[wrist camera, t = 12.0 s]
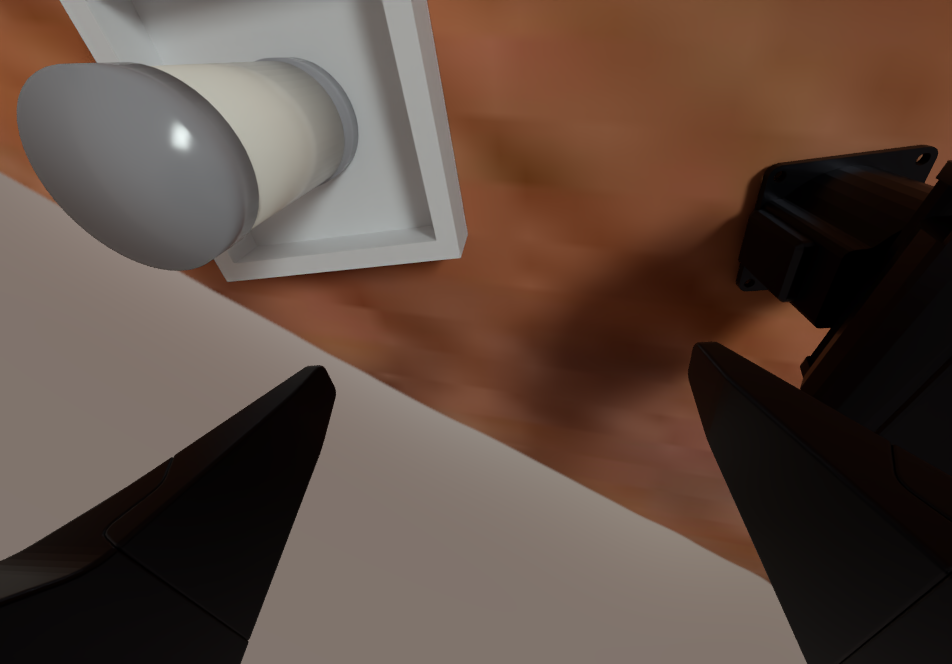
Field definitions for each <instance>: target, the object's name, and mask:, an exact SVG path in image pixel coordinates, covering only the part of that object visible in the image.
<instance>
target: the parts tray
mask: <svg viewBox="0 0 952 664" xmlns="http://www.w3.org/2000/svg"><path fill="white" fill-rule="evenodd" d="M60 2H61V3H62V5H63V7H64V8H65V10H66V12H67V13H68V15H69V17H70V18H71V20H72V22H73V23H74V25H75V27H76V28H77V30H78V32H79V33H80V35H81V37H82V39H83V40H84V42H85V44H86V45H87V47H88V49H89V50H90V52H91V54H92V55H93V57H94V59H95V60H96V62H97V63H110V62H132V63H139V64H144V65H147V66H159V65H183V64H208V63H232V62H254V61H257V60H259V59H264V58H281V57H295V58H301V59H304V60H308V61H310V62H312V63H314V64H316V65H318V66H320V67H321V68H323V69H324V70H325V71H327V72H328V73H329V74H330V75H331V76H332V77H333V78H334V79H335V80H336V81H337V82H338V83H339V84H340V86H341V87H342V88H343V90H344V91H345V93H346V94H347V96H348V98H349V100H350V102H351V104H352V106H353V109H354V111H355V115H356V118H357V123H358V133H359V137H358V146H357V150H356V153H355V156H354V158H353V160H352V162H351V163H350V165H349V166H348V167H347V168H346V169H345V170H344V171H343V172H341V173H340V174H339V175H337V176H336V177H334V178H333V179H331V180H330V181H328V182H327V183H325V184H323V185H320V186H317V187H315V188H313V189H312V190H310V191H309V192H307V193H306V194H304V195H303V196H301V197H300V198H298V199H297V200H295V201H294V202H292V203H291V204H289V205H288V206H286V207H284V208H283V209H281V210H280V211H278V212H277V213H275V214H274V215H272V216H271V217H269V218H268V219H266V220H265V221H263V222H262V223H260V224H259V225H257V226H256V227H254V228H253V229H251V230H250V232H249V233H248V234H247V235H246V236H245V238H243V239H242V240H241V241H239V242H238V243H236V244H235V245H233V246H232V247H231V248H229V249H228V250H226V251H225V252H223V253H222V254H220V255H219V256H217V257H216V258H214V260H215V262H216V264H217V265H218V267H219V269H220V270H221V272H222V274H223V275H224V277H225V279H226V280H227V282H233V281H242V280H252V279H261V278H271V277H281V276H290V275H300V274H310V273H319V272H329V271H339V270H348V269H358V268H368V267H377V266H387V265H396V264H406V263H416V262H425V261H435V260H445V259H454V258H461V255H462V252H463V249H464V245H465V242H466V238H467V235H468V233H467V227H466V221H465V215H464V210H463V204H462V198H461V193H460V187H459V181H458V176H457V170H456V164H455V158H454V153H453V147H452V141H451V136H450V130H449V124H448V118H447V113H446V107H445V101H444V96H443V90H442V84H441V79H440V73H439V67H438V61H437V56H436V50H435V44H434V39H433V33H432V27H431V21H430V16H429V10H428V4H427V0H60Z"/></svg>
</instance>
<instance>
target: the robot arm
mask: <svg viewBox="0 0 952 664" xmlns="http://www.w3.org/2000/svg"><path fill="white" fill-rule="evenodd" d="M922 154H923V156H922V158H921V159H920V160H919V161H917V162H916V159H917V158H918V157H919V156H920V155H922ZM937 156H938V150H937V149H936V148H935V147H932V146H928V145H916V146H908V147H900V148H892V149H884V150H877V151H869V152H861V153H853V154H845V155H838V156H830V157H822V158H814V159H806V160H799V161H791V162H783V163H777V164H774V165H772V166H771V167H769V168H768V169H767V170H766V172H765V174H764V176H763V180H762V183H761V187H760V191H759V195H758V199H757V203H756V206H755V210H754V211H753V213H752V214H751V215H750V216H749V220H748V224H747V228H746V232H745V236H744V239H743V243H742V247H741V251H740V255H739V259H738V260H739V262H740V267H739V271H738V275H737V279H736V284H737V286H738V287H739V288H740V289H741V290H743V291H758V290H769V291H770V292H771V293H772V294H773V295H774V296H775V297H776V298H777V299H779V300H780V301H781V302H790V303H791V304H792V305H793V306H794V307H795V308H796V309H797V310H798V311H799V312H800V313H801V314H802V315H803V316H805V317H806V318H807V319H808V320H809V321H810V322H811V323H812V324H813V325H814V326H815V327H816V328H831V329H830V330H829V332H828V333H827V334H826V336H825V337H824V338H823V340H822V341H821V342H820V344H819V345H818V347H817V348H816V349H815V351H814V352H813V353H812V355H811V356H807V357H806V358H805V360H804V361H803V362H802V364H801V365H800V369H801V372H802V376H803V381H802V384H801V387H800V389H801V390H800V389H798V388H796V387H794V386H793V385H791V384H789V383H787V382H786V381H784V380H782V379H780V378H779V377H777V376H775V375H774V374H772V373H770V372H768V371H767V370H765V369H763V368H761V367H760V366H758V365H756V364H754V363H753V362H751V361H749V360H747V359H746V358H744V357H742V356H740V355H739V354H737V353H735V352H734V351H732V350H730V349H728V348H727V347H725V346H723V345H721V344H720V343H718V342H698V343H696V344H695V345H694V347H693V350H692V355H691V360H690V364H689V369H688V378H689V382H690V386H691V389H692V392H693V396H694V399H695V402H696V405H697V409H698V412H699V415H700V418H701V422H702V425H703V428H704V431H705V434H706V437H707V440H708V443H709V445H710V448H711V450H712V452H713V454H714V457H715V459H716V461H717V463H718V466H719V468H720V470H721V472H722V475H723V477H724V479H725V481H726V483H727V486H728V488H729V490H730V492H731V495H732V497H733V499H734V501H735V504H736V506H737V508H738V510H739V513H740V515H741V517H742V519H743V521H744V524H745V526H746V528H747V530H748V533H749V535H750V537H751V539H752V542H753V544H754V546H755V548H756V550H757V553H758V555H759V557H760V559H761V562H762V564H763V566H764V568H765V571H766V573H767V575H768V577H769V580H770V582H771V584H772V586H773V588H774V591H775V593H776V595H777V597H778V600H779V602H780V604H781V606H782V609H783V611H784V613H785V615H786V617H787V620H788V622H789V624H790V626H791V629H792V631H793V633H794V635H795V638H796V640H797V642H798V644H799V646H800V649H801V651H802V653H803V655H804V657H805V660H806V662H807V664H952V160H948V161H947V163H946V164H945V166H944V167H943V168H942V170H941V171H940V173H939V174H938V175H937V177H936V179H938V180H939V181H938V182H937V183H936V185H935V186H931V185H928V184H925V181H926V178H927V176H928V174H929V172H930V170H931V168H932V166H933V164H934V162H935V160H936V158H937ZM780 171H782V174H781V176H780V177H779V178H778V179H776V180H774V176H775V174H777V173H778V172H780ZM749 279H751V281H750V282H749V283H746V284H744V283H745V282H746V281H747V280H749ZM335 397H336V390H335V387H334V385H333V383H332V381H331V379H330V377H329V375H328V373H327V371H326V369H325V368H324V367H323V366H320V365H317V366H307V367H305V368H303V369H302V370H301V371H299V372H297V373H296V374H294V375H293V376H292V377H290V378H288V379H287V380H286V381H284V382H283V383H281V384H280V385H278V386H277V387H275V388H274V389H272V390H271V391H269V392H268V393H266V394H265V395H264V396H262V397H260V398H259V399H257V400H256V401H254V402H253V403H251V404H250V405H248V406H247V407H245V408H244V409H243V410H241V411H239V412H238V413H237V414H235V415H234V416H232V417H231V418H229V419H228V420H226V421H225V422H223V423H222V424H220V425H219V426H217V427H216V428H214V429H213V430H211V431H210V432H208V433H207V434H205V435H204V436H202V437H201V438H199V439H198V440H196V441H195V442H193V443H192V444H191V445H189V446H188V447H186V448H185V449H183V450H182V451H180V452H179V453H177V454H176V455H175V456H174V458H173V457H172V458H170V459H168V460H167V461H165V462H164V463H162V464H161V465H159V466H158V467H156V468H155V469H153V470H152V471H150V472H149V473H147V474H146V475H144V476H143V477H141V478H140V479H138V480H137V481H135V482H133V483H132V484H131V485H129V486H128V487H126V488H124V489H123V490H121V491H119V492H118V493H116V494H114V495H113V496H111V497H110V498H108V499H107V500H105V501H103V502H102V503H100V504H98V505H97V506H95V507H93V508H92V509H90V510H89V511H87V512H85V513H84V514H82V515H80V516H79V517H77V518H75V519H74V520H72V521H70V522H69V523H67V524H66V525H64V526H62V527H61V528H59V529H57V530H56V531H54V532H52V533H51V534H49V535H47V536H46V537H44V538H43V539H41V540H39V541H38V542H36V543H34V544H33V545H31V546H29V547H27V548H26V549H24V550H23V551H20V552H19V553H17V554H15V555H12V556H10V557H8V558H6V559H4V560H2V561H0V664H241V661H242V658H243V656H244V653H245V650H246V648H247V645H248V640H249V639H250V636H251V634H252V631H253V629H254V626H255V623H256V621H257V618H258V615H259V613H260V610H261V608H262V605H263V602H264V600H265V597H266V594H267V592H268V589H269V587H270V584H271V581H272V579H273V576H274V573H275V571H276V568H277V566H278V563H279V560H280V558H281V555H282V552H283V550H284V547H285V544H286V542H287V539H288V537H289V534H290V531H291V529H292V526H293V523H294V521H295V518H296V516H297V513H298V510H299V508H300V505H301V502H302V500H303V497H304V494H305V492H306V489H307V486H308V484H309V481H310V479H311V476H312V473H313V471H314V468H315V465H316V463H317V460H318V458H319V455H320V452H321V449H322V446H323V442H324V439H325V435H326V431H327V428H328V424H329V420H330V416H331V412H332V409H333V405H334V401H335Z"/></svg>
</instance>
